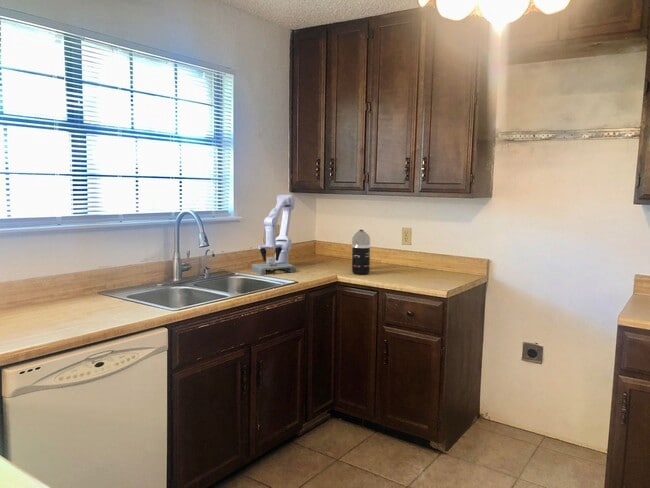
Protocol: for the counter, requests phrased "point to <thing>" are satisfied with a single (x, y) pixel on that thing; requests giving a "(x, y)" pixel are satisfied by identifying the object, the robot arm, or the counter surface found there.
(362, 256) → the black and grey bottle
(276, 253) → the robot arm
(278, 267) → the keyhole plate
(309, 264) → the counter surface
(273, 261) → the peg
